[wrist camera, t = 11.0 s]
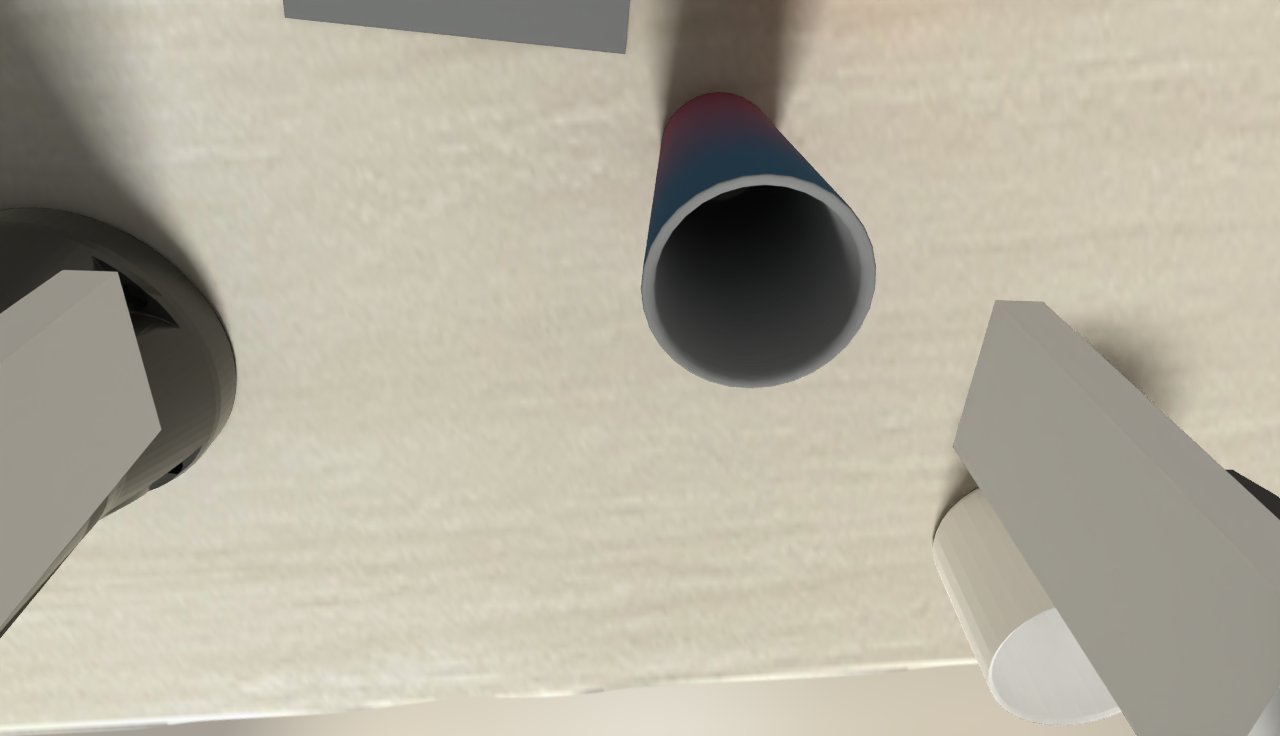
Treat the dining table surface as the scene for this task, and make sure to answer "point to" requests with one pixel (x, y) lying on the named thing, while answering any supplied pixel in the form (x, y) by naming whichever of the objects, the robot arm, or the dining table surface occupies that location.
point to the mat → (485, 19)
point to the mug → (1014, 622)
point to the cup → (749, 251)
